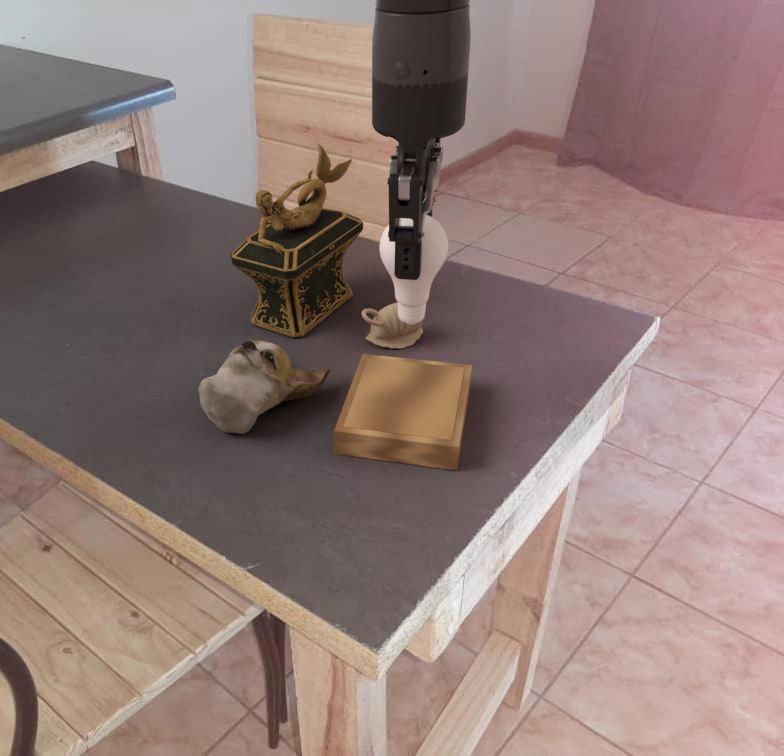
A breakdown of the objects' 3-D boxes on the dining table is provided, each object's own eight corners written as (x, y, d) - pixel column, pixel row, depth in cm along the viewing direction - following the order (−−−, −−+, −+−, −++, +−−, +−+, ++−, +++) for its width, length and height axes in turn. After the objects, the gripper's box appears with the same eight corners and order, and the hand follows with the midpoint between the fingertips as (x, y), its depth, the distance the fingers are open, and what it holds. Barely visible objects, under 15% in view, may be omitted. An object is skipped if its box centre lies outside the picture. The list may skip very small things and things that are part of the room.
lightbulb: (366, 327, 74) (365, 219, 68) (402, 301, 78) (404, 197, 72) (421, 347, 71) (425, 235, 65) (455, 318, 74) (463, 210, 68)
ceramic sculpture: (164, 355, 78) (256, 300, 88) (172, 426, 82) (259, 365, 92) (247, 389, 72) (335, 325, 82) (251, 462, 77) (334, 393, 87)
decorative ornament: (430, 342, 93) (433, 303, 90) (366, 357, 91) (366, 318, 88) (415, 326, 96) (417, 287, 93) (353, 340, 94) (352, 302, 91)
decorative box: (297, 349, 94) (287, 192, 82) (235, 328, 98) (217, 178, 87) (380, 280, 106) (381, 137, 95) (321, 265, 111) (315, 127, 100)
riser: (470, 387, 85) (472, 364, 83) (457, 471, 74) (459, 446, 72) (362, 375, 88) (362, 353, 86) (334, 454, 77) (333, 430, 75)
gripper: (458, 93, 55) (445, 302, 64) (476, 47, 66) (463, 230, 75) (354, 92, 57) (356, 295, 66) (388, 47, 68) (386, 226, 77)
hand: (413, 260), depth 71 cm, fingers closed on lightbulb, 6 cm apart
